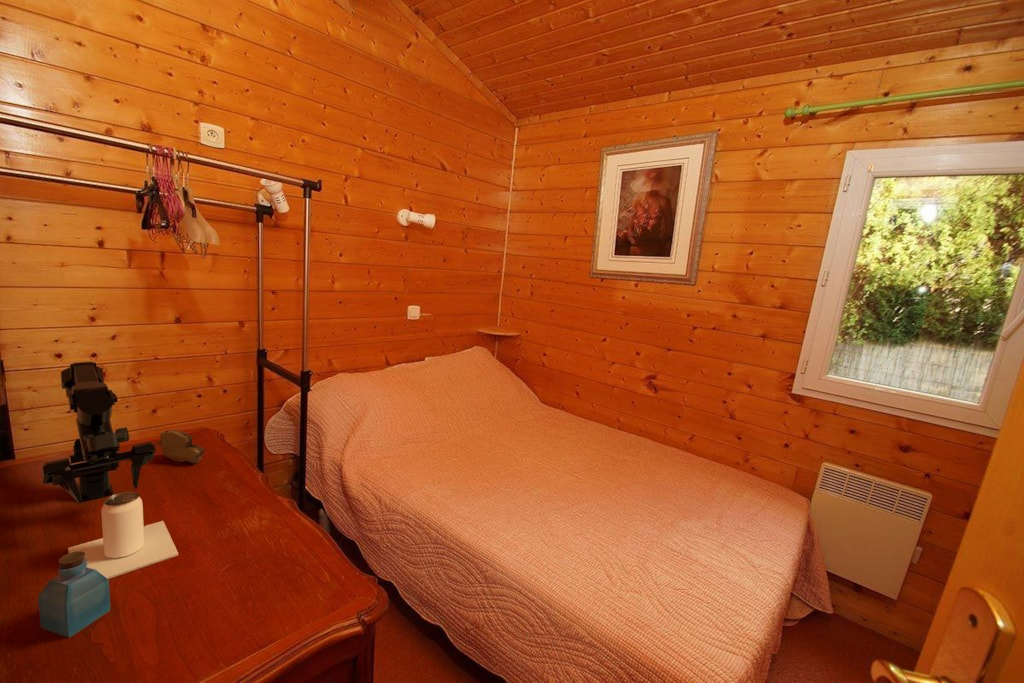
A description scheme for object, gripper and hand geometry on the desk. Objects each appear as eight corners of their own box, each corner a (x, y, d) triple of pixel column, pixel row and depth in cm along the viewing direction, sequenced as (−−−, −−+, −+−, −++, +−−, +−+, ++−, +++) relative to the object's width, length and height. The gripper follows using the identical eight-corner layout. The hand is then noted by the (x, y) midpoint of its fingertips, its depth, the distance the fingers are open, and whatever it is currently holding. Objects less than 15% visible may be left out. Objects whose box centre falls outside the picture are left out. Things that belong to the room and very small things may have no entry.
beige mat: (68, 549, 92) (68, 547, 92) (163, 522, 104) (163, 520, 104) (73, 590, 82) (73, 588, 82) (178, 555, 93) (178, 553, 93)
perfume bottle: (69, 637, 72) (64, 573, 70) (41, 628, 73) (35, 564, 71) (110, 610, 78) (106, 550, 76) (83, 602, 79) (79, 543, 77)
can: (141, 555, 92) (138, 502, 90) (100, 563, 89) (96, 509, 87) (147, 537, 97) (145, 488, 95) (109, 544, 94) (105, 493, 92)
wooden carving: (210, 461, 135) (209, 431, 134) (197, 468, 131) (196, 436, 129) (165, 453, 138) (164, 423, 136) (151, 459, 133) (150, 428, 132)
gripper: (39, 427, 90) (50, 497, 85) (152, 410, 105) (167, 468, 100) (37, 450, 96) (48, 516, 91) (145, 431, 111) (159, 487, 106)
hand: (109, 495), depth 97 cm, fingers open, 9 cm apart
